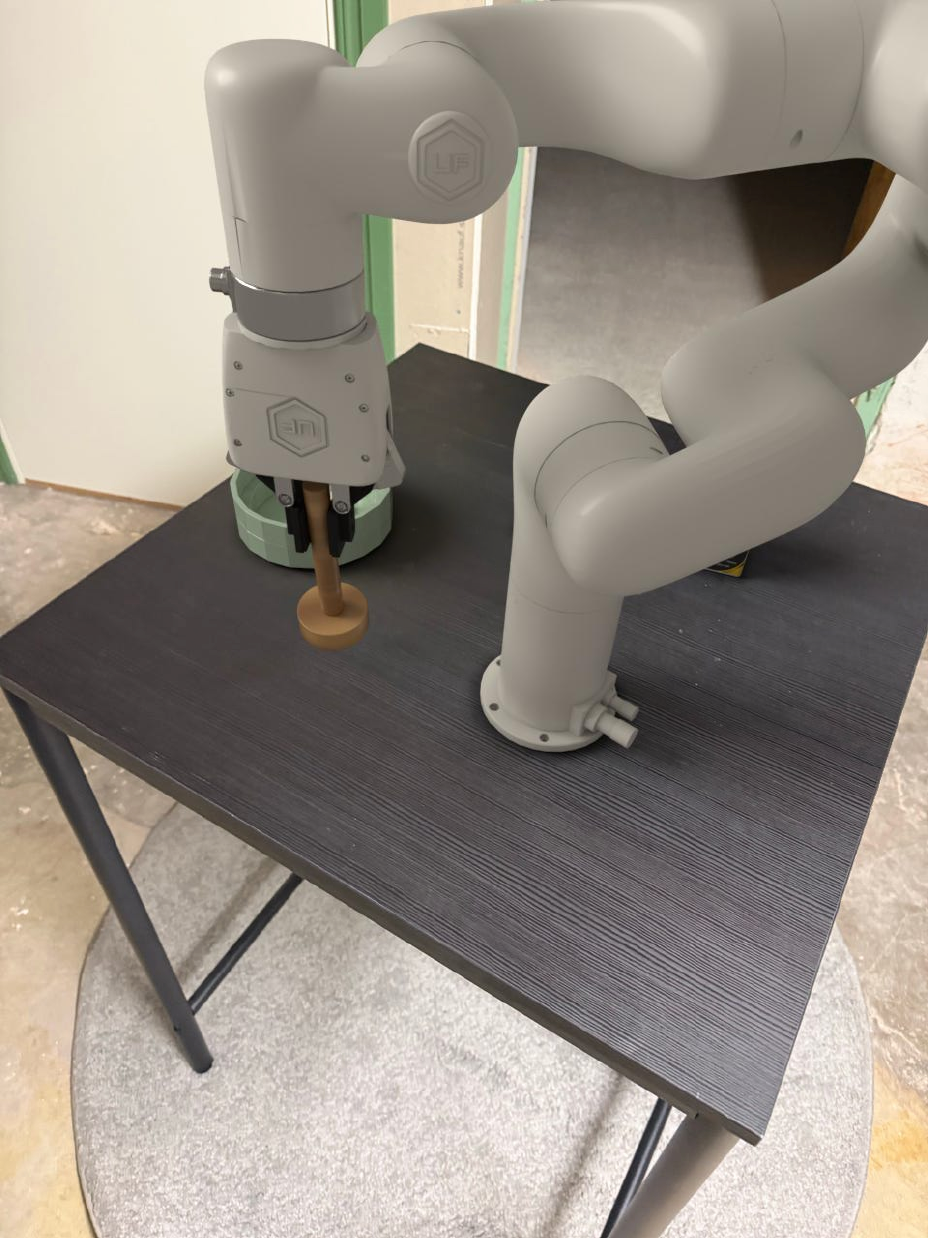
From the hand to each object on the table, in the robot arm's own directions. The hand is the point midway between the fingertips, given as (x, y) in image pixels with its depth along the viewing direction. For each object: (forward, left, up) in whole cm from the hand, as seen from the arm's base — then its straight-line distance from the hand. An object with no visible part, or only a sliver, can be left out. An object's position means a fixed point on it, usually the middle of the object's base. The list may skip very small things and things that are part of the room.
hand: (323, 542), depth 63 cm
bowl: (+22, -20, -21) cm, 36 cm away
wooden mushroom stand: (+1, -1, -9) cm, 9 cm away
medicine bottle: (-15, -45, -21) cm, 51 cm away
